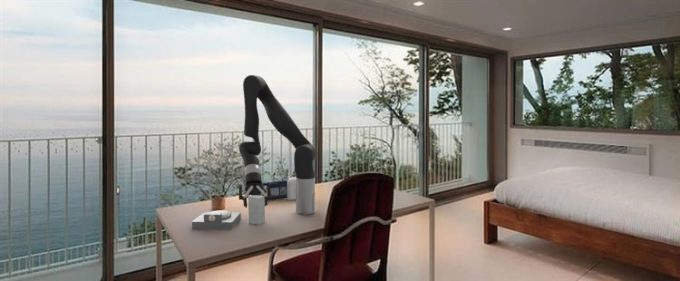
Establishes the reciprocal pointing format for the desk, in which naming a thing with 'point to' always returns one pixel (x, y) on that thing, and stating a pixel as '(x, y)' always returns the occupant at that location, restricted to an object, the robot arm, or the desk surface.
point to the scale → (216, 220)
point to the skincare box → (256, 209)
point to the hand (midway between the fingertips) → (256, 206)
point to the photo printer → (291, 188)
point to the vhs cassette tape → (277, 189)
